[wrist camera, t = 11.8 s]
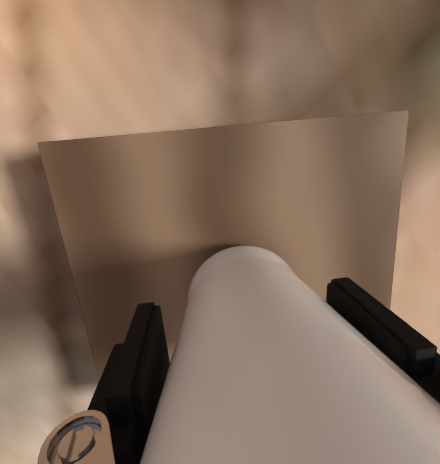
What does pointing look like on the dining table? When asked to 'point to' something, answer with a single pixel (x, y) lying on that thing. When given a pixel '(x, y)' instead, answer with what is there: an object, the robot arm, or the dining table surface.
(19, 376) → the dining table surface
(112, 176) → the walnut block
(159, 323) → the robot arm
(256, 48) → the dining table surface
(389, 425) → the white tapered cylinder
